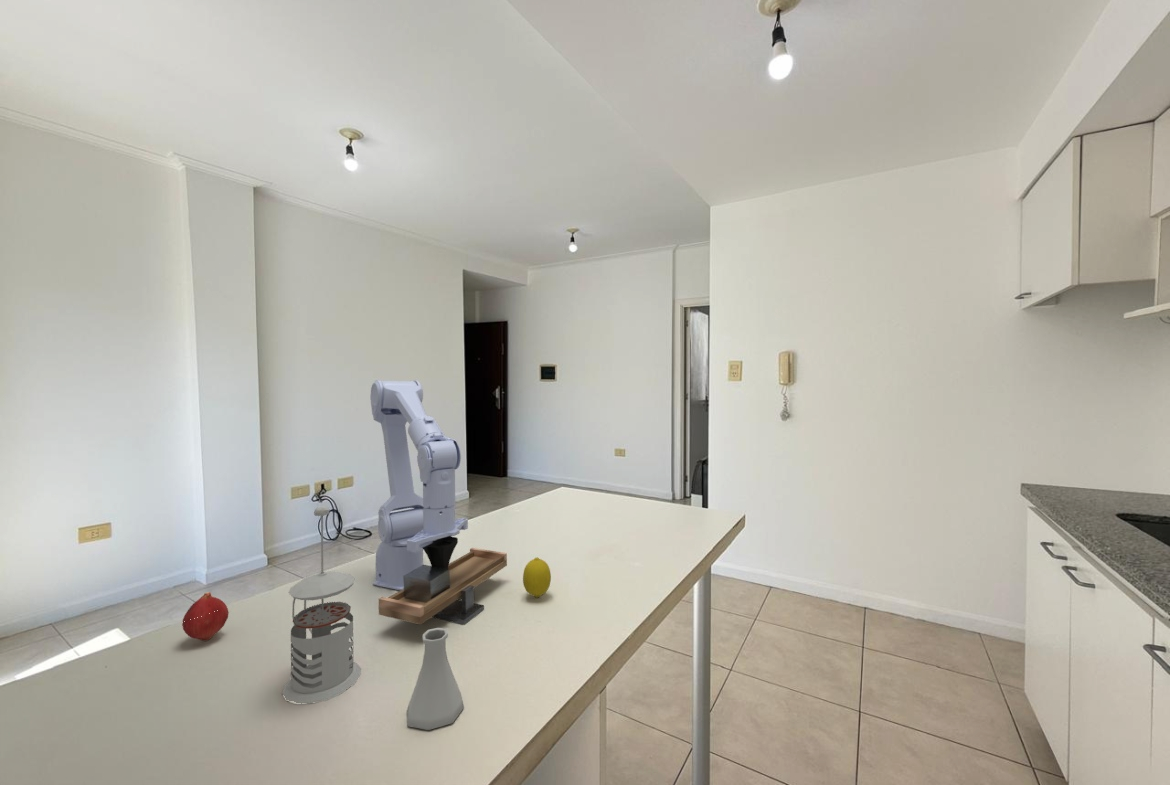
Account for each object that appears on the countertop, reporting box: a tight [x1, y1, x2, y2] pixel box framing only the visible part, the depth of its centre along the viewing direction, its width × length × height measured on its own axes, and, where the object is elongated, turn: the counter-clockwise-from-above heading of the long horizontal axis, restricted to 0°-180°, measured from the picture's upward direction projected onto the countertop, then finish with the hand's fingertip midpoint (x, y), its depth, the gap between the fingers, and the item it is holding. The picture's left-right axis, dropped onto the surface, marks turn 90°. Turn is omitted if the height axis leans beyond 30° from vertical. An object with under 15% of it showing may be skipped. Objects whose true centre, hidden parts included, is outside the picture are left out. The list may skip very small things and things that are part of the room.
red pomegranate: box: [181, 591, 230, 642], centre depth 75 cm, size 6×6×8 cm
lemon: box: [522, 557, 552, 599], centre depth 90 cm, size 6×6×8 cm
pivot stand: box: [431, 585, 485, 626], centre depth 85 cm, size 14×6×5 cm, turn 68°
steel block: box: [403, 564, 450, 603], centre depth 81 cm, size 6×5×4 cm
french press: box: [282, 505, 362, 705], centre depth 65 cm, size 10×12×25 cm
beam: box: [378, 547, 508, 625], centre depth 87 cm, size 9×26×3 cm, turn 158°
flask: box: [406, 627, 465, 731], centre depth 58 cm, size 7×7×10 cm
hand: (439, 578), depth 84 cm, fingers closed
